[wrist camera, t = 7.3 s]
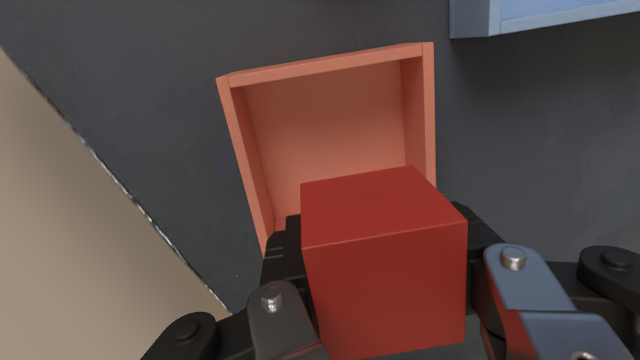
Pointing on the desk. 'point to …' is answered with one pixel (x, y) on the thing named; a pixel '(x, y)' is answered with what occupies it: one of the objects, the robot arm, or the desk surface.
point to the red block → (383, 263)
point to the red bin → (328, 123)
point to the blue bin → (526, 14)
